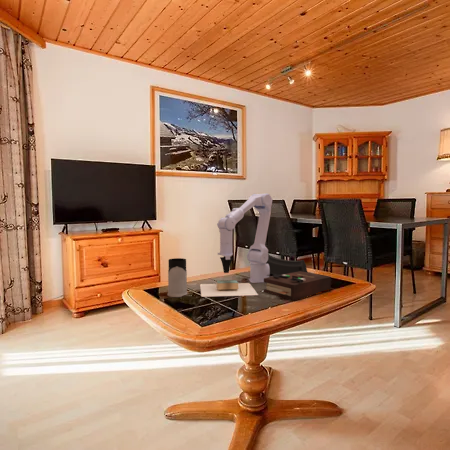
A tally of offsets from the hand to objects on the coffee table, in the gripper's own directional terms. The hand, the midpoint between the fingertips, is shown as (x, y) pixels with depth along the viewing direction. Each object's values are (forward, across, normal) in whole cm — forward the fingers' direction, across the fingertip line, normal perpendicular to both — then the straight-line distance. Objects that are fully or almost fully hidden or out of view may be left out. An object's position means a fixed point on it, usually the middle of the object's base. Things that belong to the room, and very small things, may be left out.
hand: (226, 272), depth 153 cm
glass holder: (+7, +6, -22) cm, 24 cm away
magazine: (+7, -22, +33) cm, 41 cm away
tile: (+5, 0, 0) cm, 5 cm away
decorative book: (+8, +10, +31) cm, 33 cm away
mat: (+7, +4, 0) cm, 8 cm away
